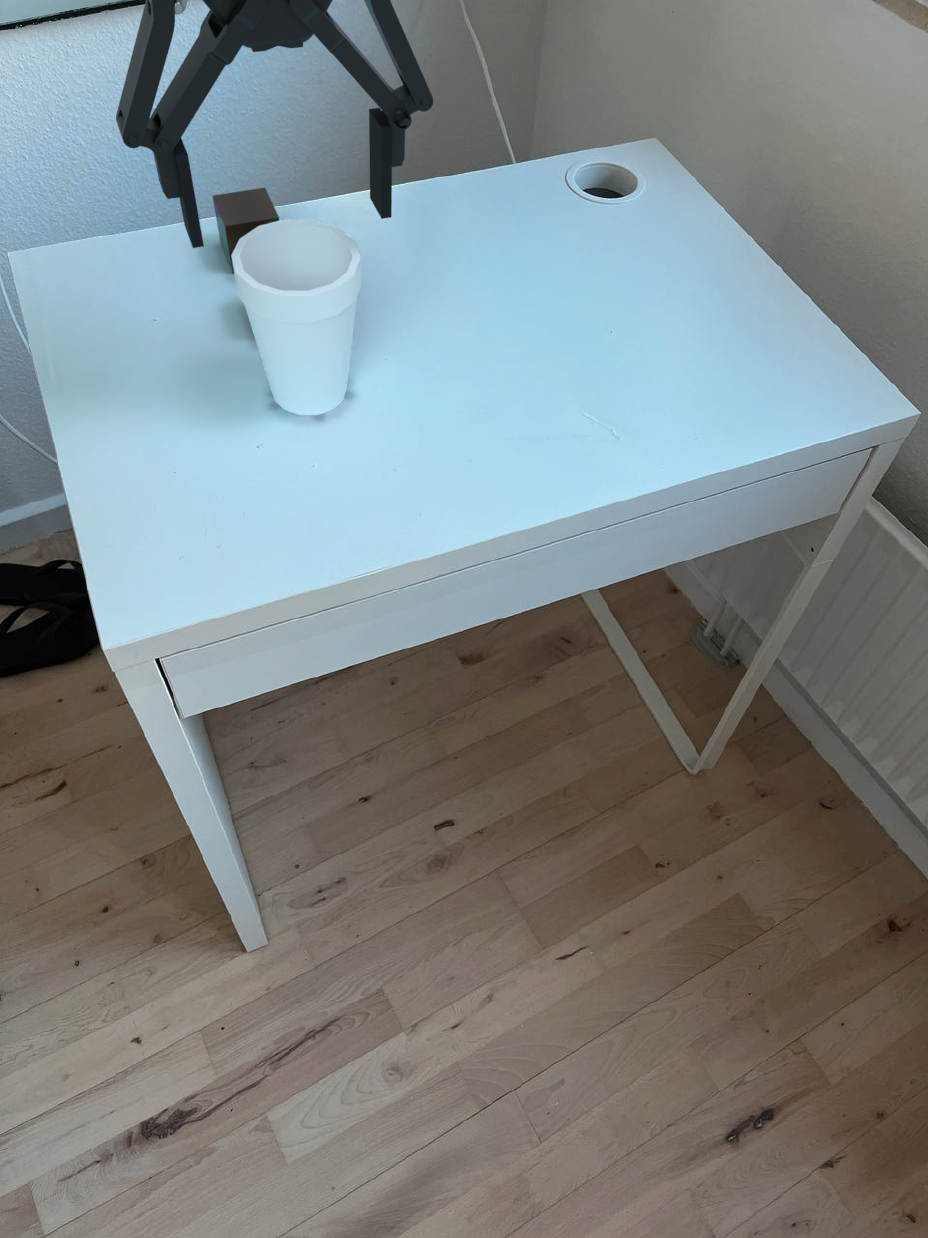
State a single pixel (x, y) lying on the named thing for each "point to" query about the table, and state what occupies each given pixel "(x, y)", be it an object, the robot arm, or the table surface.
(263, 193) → the walnut block far
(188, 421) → the table surface
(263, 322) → the foam cup
